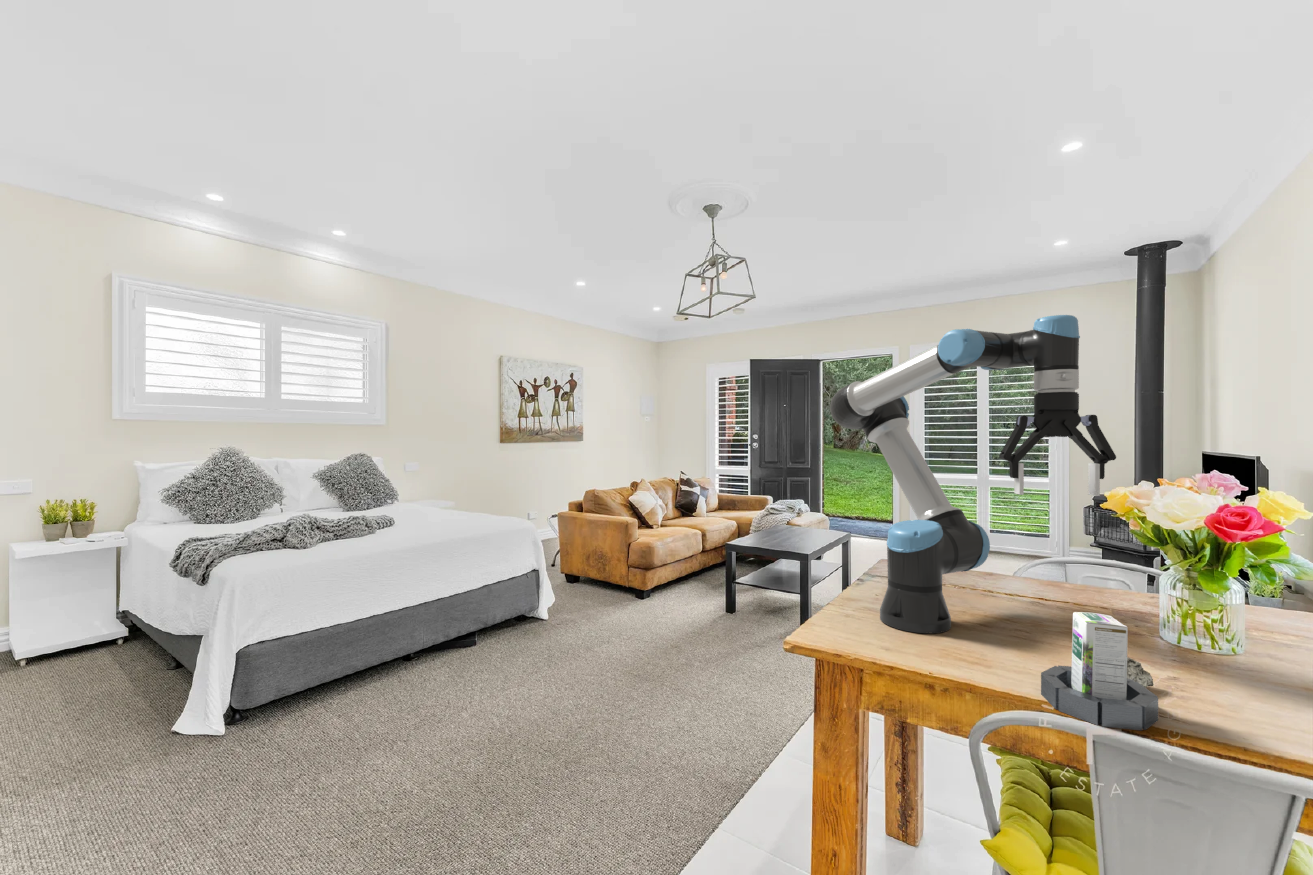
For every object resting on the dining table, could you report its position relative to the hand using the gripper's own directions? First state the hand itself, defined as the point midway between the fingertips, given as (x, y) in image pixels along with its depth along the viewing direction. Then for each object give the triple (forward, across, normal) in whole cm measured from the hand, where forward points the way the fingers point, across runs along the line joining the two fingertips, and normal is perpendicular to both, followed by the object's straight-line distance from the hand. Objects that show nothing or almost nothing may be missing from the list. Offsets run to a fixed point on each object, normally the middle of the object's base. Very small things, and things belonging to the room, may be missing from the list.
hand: (1055, 494), depth 114 cm
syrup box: (+32, -5, -26) cm, 41 cm away
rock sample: (+32, +3, -18) cm, 37 cm away
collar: (+32, -5, -26) cm, 41 cm away
